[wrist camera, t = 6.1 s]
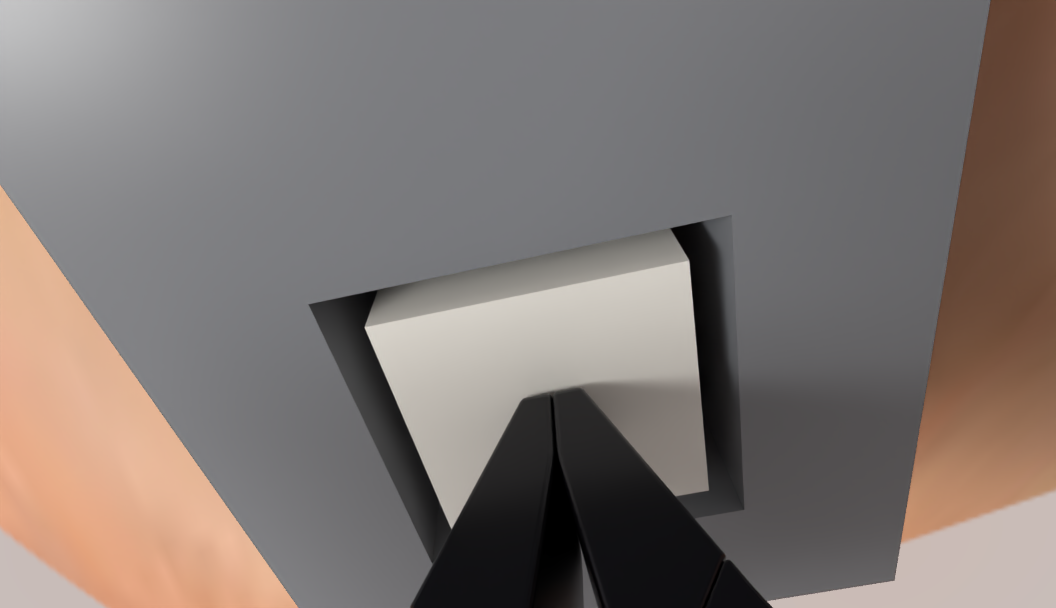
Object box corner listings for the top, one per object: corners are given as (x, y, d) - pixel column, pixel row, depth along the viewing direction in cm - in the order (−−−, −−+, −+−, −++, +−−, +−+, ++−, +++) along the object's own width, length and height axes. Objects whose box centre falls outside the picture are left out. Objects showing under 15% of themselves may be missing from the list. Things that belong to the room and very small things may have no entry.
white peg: (620, 144, 11) (689, 260, 7) (644, 320, 13) (708, 490, 9) (414, 190, 11) (364, 326, 7) (468, 355, 14) (454, 534, 9)
